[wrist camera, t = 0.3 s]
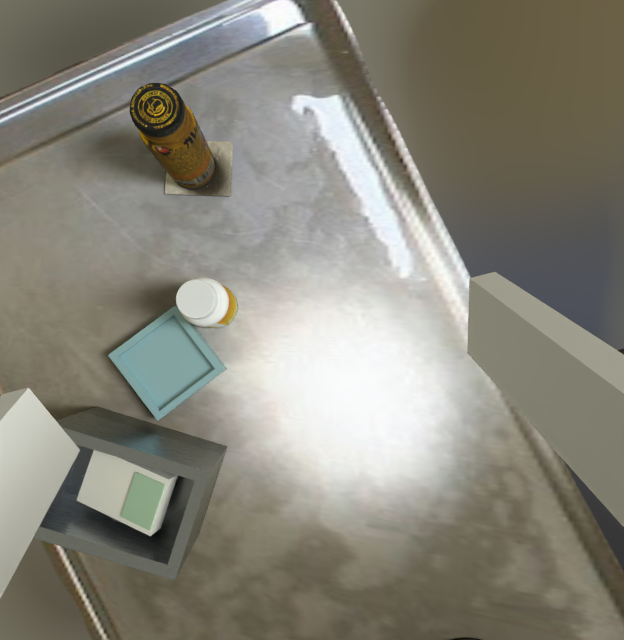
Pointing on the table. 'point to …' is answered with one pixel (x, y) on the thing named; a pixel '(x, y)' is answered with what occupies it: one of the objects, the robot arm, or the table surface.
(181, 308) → the supplement bottle
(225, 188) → the condiment
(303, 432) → the table surface
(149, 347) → the tray
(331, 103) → the table surface
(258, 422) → the table surface
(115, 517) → the block
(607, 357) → the robot arm
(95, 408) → the guard box
